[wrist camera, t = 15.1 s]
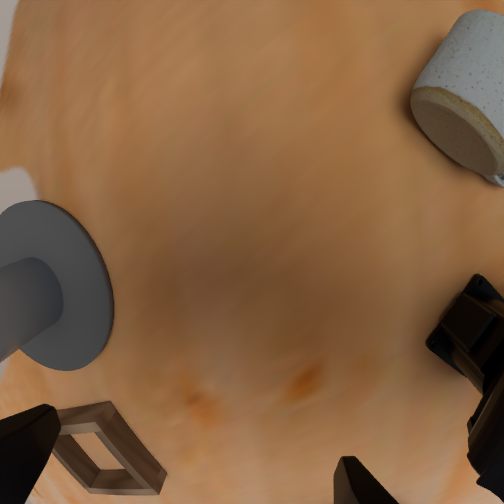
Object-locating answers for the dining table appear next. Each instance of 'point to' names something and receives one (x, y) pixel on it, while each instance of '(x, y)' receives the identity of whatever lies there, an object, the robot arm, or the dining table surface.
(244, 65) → the dining table surface
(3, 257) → the rubber mat
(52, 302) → the jug
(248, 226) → the dining table surface
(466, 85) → the ceramic mug
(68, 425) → the jug holder
